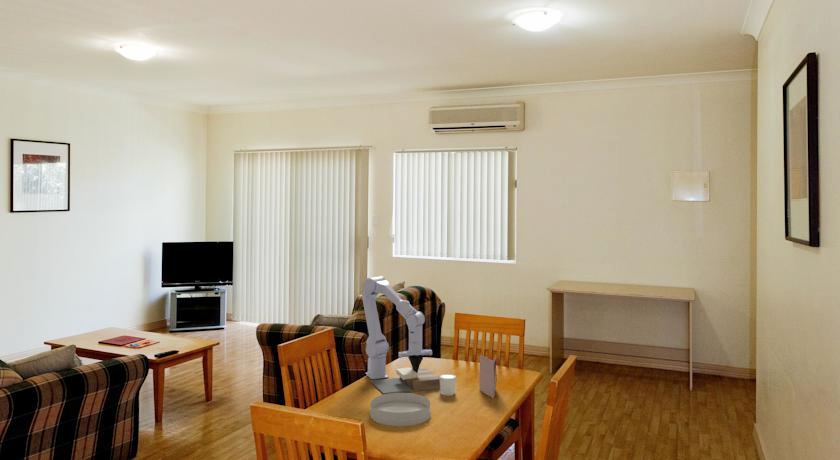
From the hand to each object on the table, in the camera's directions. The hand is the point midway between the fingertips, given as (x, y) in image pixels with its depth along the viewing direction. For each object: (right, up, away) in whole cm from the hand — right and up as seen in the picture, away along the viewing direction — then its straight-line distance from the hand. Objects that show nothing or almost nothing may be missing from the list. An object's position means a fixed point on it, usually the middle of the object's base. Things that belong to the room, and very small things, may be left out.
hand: (415, 372), depth 259 cm
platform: (+2, -5, +1) cm, 5 cm away
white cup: (+13, -6, -12) cm, 19 cm away
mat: (-10, -5, -4) cm, 12 cm away
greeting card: (+29, -6, -12) cm, 32 cm away
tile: (-4, 0, -2) cm, 4 cm away
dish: (-5, -7, -37) cm, 38 cm away
